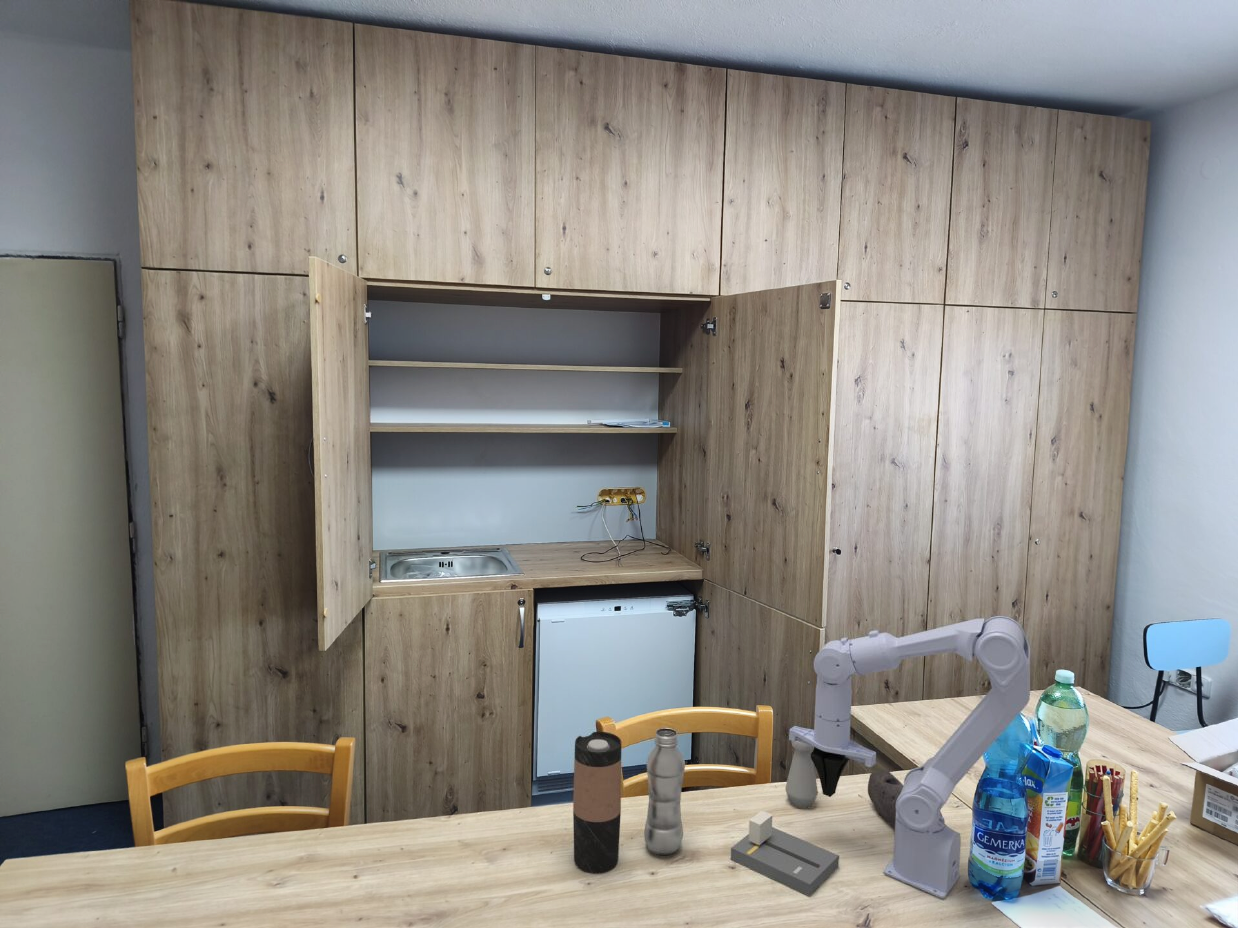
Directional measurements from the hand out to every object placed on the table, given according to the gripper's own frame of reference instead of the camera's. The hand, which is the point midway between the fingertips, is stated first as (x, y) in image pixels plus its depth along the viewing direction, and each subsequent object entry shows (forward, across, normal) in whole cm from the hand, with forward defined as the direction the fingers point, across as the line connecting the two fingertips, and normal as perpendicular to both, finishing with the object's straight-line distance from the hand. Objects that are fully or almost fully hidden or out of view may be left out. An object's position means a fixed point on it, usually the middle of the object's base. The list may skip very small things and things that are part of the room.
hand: (829, 793), depth 130 cm
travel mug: (+10, +26, +29) cm, 40 cm away
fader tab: (+7, +8, +9) cm, 14 cm away
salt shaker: (+10, +10, -10) cm, 17 cm away
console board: (+9, +3, +9) cm, 13 cm away
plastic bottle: (+10, +20, +19) cm, 29 cm away
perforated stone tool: (+10, -6, -15) cm, 19 cm away
